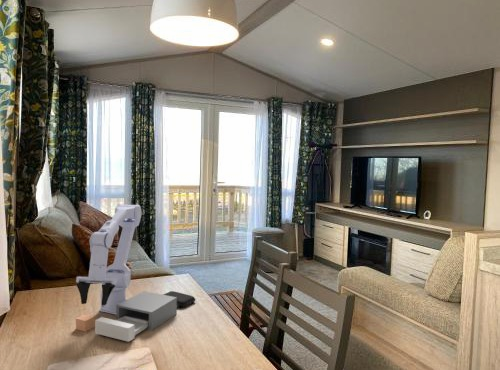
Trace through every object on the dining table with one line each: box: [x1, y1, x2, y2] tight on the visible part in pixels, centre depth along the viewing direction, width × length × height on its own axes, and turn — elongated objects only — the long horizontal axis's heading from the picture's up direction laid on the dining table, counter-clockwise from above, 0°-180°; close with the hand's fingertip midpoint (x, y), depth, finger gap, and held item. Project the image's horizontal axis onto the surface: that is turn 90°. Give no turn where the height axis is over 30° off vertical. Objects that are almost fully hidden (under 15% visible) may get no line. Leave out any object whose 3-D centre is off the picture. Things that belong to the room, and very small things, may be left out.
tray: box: [94, 316, 149, 342], centre depth 134 cm, size 14×14×5 cm
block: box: [75, 313, 96, 332], centre depth 136 cm, size 4×4×4 cm
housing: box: [115, 290, 178, 331], centre depth 145 cm, size 16×16×7 cm
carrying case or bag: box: [162, 290, 196, 309], centre depth 162 cm, size 11×3×15 cm
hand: (93, 304), depth 134 cm, fingers open, 7 cm apart
